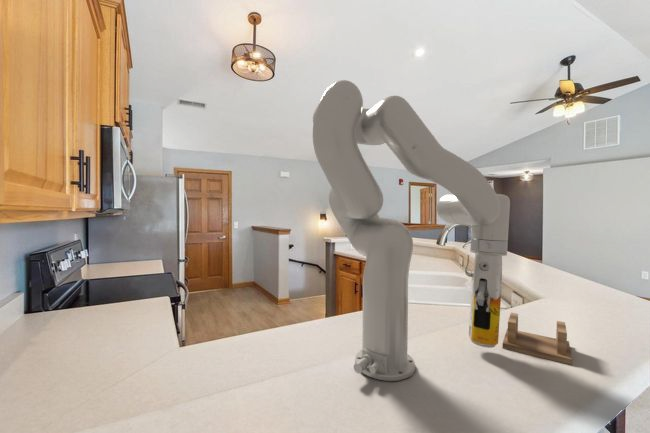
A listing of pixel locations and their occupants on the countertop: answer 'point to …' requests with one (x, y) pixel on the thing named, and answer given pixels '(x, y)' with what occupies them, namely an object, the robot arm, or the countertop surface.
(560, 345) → the holder
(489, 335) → the beer can
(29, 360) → the countertop surface
